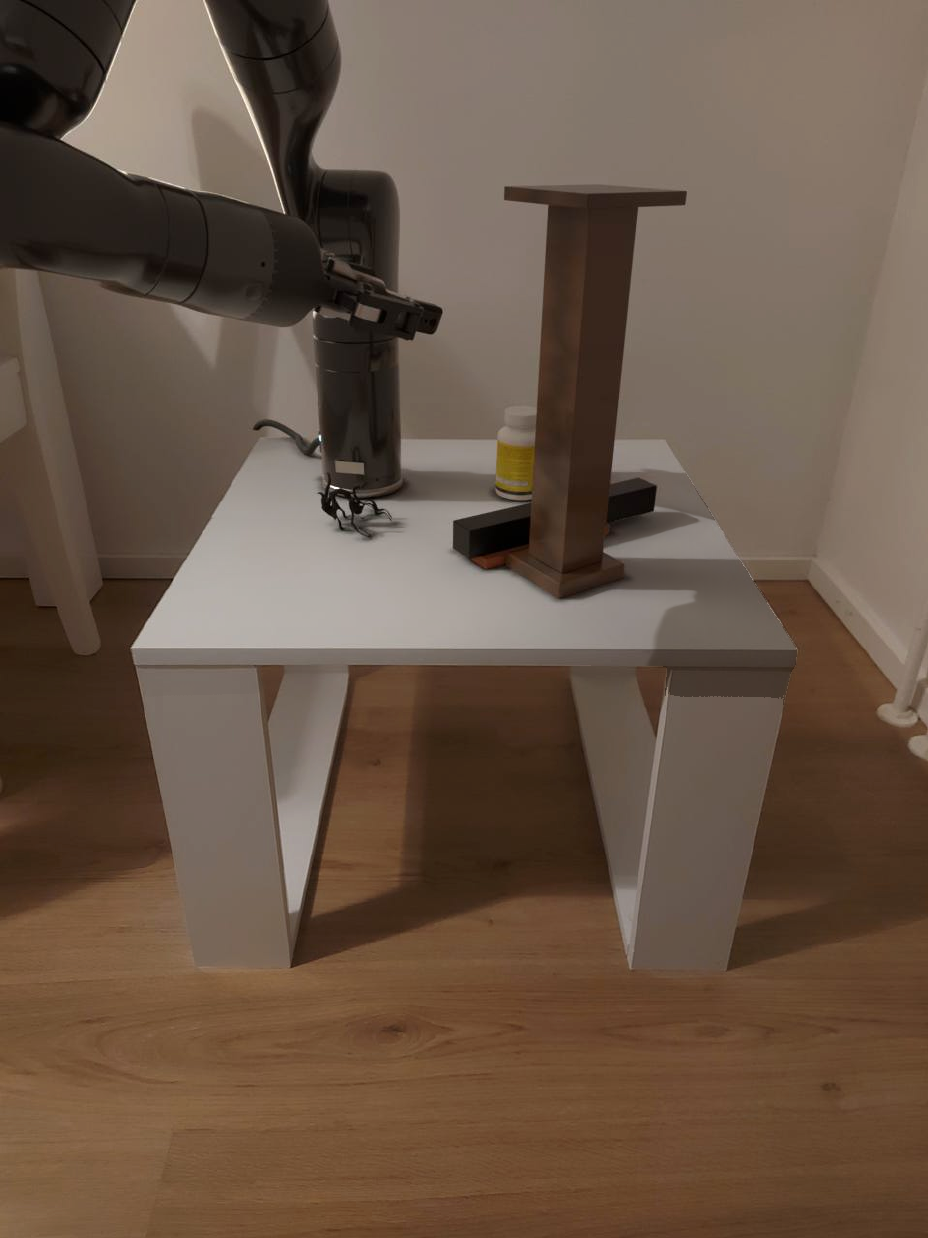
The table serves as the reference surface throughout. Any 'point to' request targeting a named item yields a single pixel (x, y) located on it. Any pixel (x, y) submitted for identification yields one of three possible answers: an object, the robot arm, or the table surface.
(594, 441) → the plant stand
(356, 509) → the creature
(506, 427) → the supplement bottle
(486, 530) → the handle bar
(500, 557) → the wooden plank
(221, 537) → the table surface
